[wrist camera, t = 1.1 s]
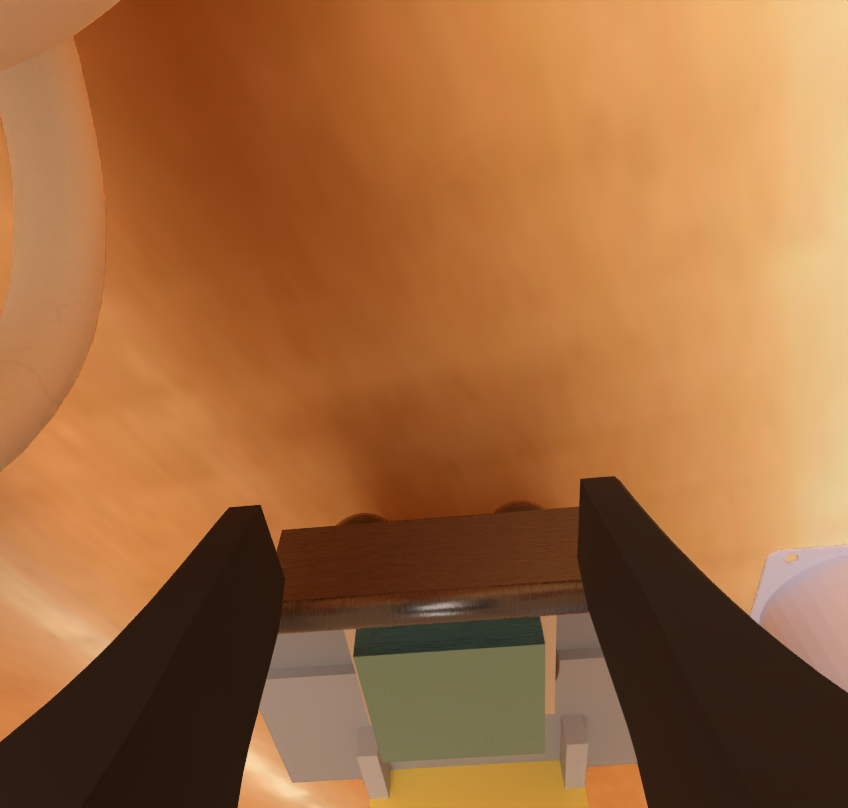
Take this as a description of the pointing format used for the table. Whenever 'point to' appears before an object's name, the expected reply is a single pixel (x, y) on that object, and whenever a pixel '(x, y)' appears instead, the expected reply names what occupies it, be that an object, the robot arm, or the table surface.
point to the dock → (445, 778)
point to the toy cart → (443, 622)
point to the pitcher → (48, 213)
